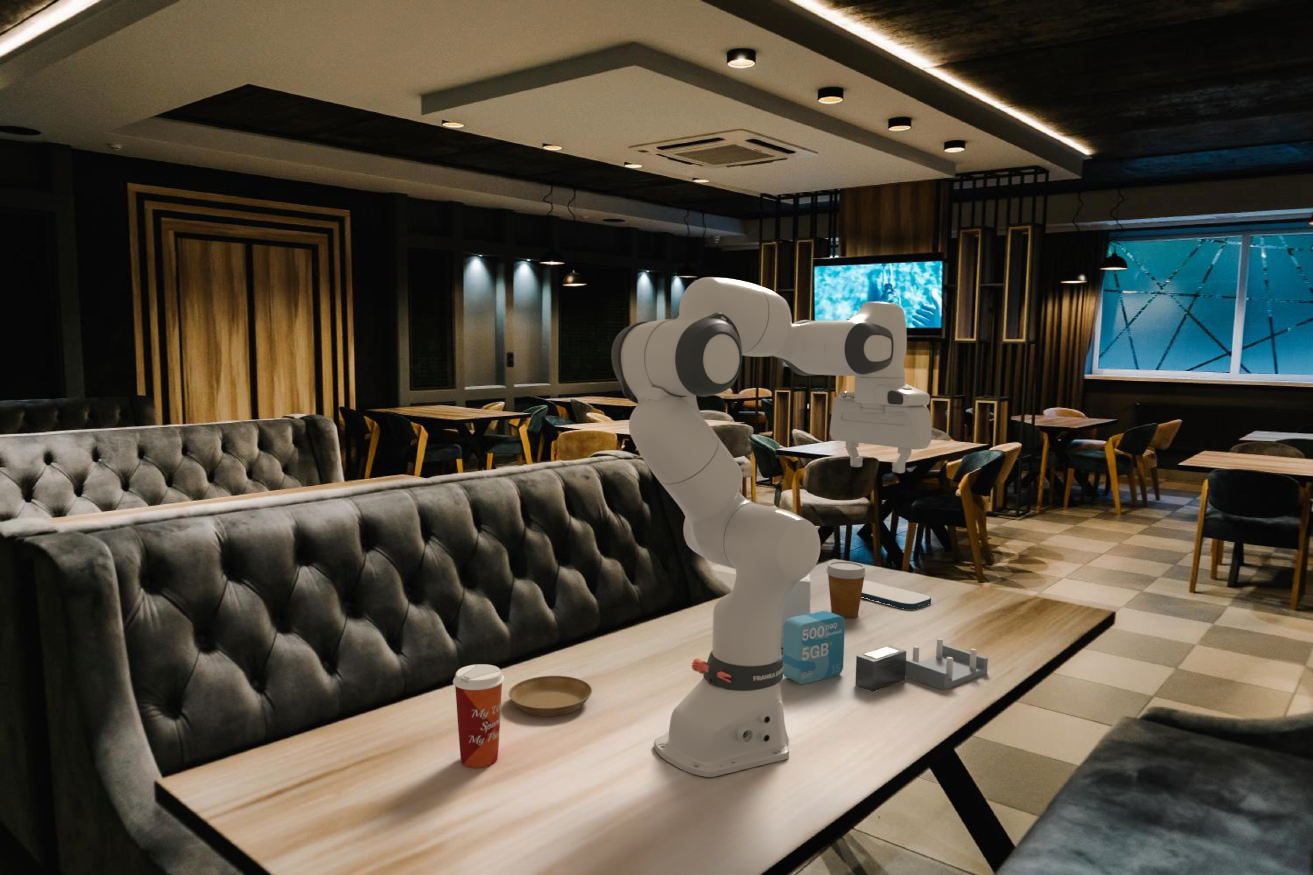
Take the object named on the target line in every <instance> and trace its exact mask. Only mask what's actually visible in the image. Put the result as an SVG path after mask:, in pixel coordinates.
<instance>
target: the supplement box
mask: <svg viewBox="0 0 1313 875" xmlns="http://www.w3.org/2000/svg"><path fill="white" fill-rule="evenodd" d="M811 589H812V588H811V572H810V573H809V574H808V575H807V576H806V577H804V578H803V579H801V580H800V581H799V582H797V583H796V585H795V586H794V587H793V589H792V590H791V592H790V594H789V596H788V598H787V601H786V604H785V607H784V612H783V620H782V633H781V649H783V641H784V624H785V622H786V620H787V619H788V618H791V617H796V616H801V615H806V614H811Z"/></svg>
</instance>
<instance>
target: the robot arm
mask: <svg viewBox="0 0 1313 875" xmlns="http://www.w3.org/2000/svg"><path fill="white" fill-rule="evenodd" d="M678 314H679V315H678V316H677V317H676V318H669V319H659V320H652V321H648V320H647V321H644V320H643V321H640V322H636V323H633V324H631V325H629V326H627V327H625V328H624V329H622V330H621V331H620V332H619V333H618V334H617V335H616V337H615V338H614V340H613V343H612V346H611V353H610V354H611V356H610V357H611V366H612V369H613V371H614V374H615V376H616V379H617V380H618V382H619V383H620V385H621V389H622V393H623V395H624V396H625V397H626V399H627V400H629V401H631V402H632V403H633V404H635V405H636V404H637V405H636V406H635V408H634V409H633V411H632V413H630V414H631V415H630V417H629V422H628V431H629V434H630V437H631V439H632V441H633V444H634V445H635V447H636V449H637V452H638V453H639V454H640V456H641V458H642V459H643V461H644V462H645V464H646V465H647V467H648V468H649V470H650V471H651V473H652V474H653V475H654V476H655V478H656V479H657V481H659V483H660V484H661V485H662V487H663V488H664V489H665V491H666V492H667V493H668V494H669V496H670V497H671V498H672V499H673V500H674V502H675V503H676V504H677V506H678V507H679V508H680V509H681V511H682V512H683V515H684V517H685V518H684V522H683V528H682V529H683V530H682V531H683V537H684V541H685V543H686V545H687V546H688V548H690V550H692V551H693V552H694V553H696V554H697V555H699V556H701V557H702V558H703V559H705V560H707V561H709V562H711V563H714V564H717V565H719V566H723V567H727V568H730V569H733V570H735V574H736V575H735V580H734V585H733V588H732V590H731V592H730V593H727V594H726V595H724V596H722V597H721V598H720V599H719V600H717V602H716V603H715V605H714V608H713V611H712V649H711V651H710V652H709V655H708V658H707V661H704V660H702V659H701V658H695V659H693V660H692V662H691V665H690V666H691V669H692V671H694V672H698V673H699V674H700V675H701V674H702V676H703V678H701V680H700V681H699V682H698V683H697V684H696V685H695V686H694V687H693V688H692V690H690V692H689V693H688V694H687V695H686V696H685V697H684V698H683V699H682V700H681V701H680V702H679V703H678V704H677V705H676V706H675V707H674V708H673V710H672V713H671V716H670V721H669V727H668V728H669V729H668V732H667V733H664V734H663V735H660V736H659V737H657V738H655V739H654V742H653V747H654V750H655V752H656V753H657V754H658V755H659V757H661V758H662V759H663V760H664V761H666V762H668V763H669V764H671V765H673V766H674V767H676V768H679V769H680V770H682V771H685V772H686V773H687V772H688V773H689V774H693V775H696V776H701V777H705V778H713V777H718V776H722V775H725V774H730V773H735V772H739V771H743V770H747V769H752V768H756V767H759V766H763V765H767V764H773V763H775V762H781V761H785V760H787V759H789V758H790V752H789V747H788V744H789V741H790V740H789V737H788V733H787V728H786V723H785V712H784V703H783V695H782V687H781V681H782V680H783V679H784V674H783V670H784V666H783V653H781V652H782V648H781V633H782V620H783V612H784V607H785V604H786V601H787V598H788V596H789V594H790V592H791V590H792V589H793V587H794V586H795V585H796V583H797V582H799V581H800V580H801V579H803V578H804V577H806V576H807V575H808V574H809V573H810V574H811V573H812V571H813V570H814V568H815V567H816V564H818V560H819V558H820V554H821V539H820V535H819V532H818V529H817V527H816V526H815V525H814V524H813V522H811V521H810V520H808V519H806V518H804V517H802V516H801V515H799V514H796V513H794V512H792V511H790V510H787V509H783V508H779V507H774V506H769V505H764V504H760V503H756V502H753V501H751V500H749V499H748V498H746V497H745V496H744V495H743V494H741V492H740V490H741V487H742V483H743V472H742V469H741V466H740V465H739V463H738V462H737V461H736V459H735V458H734V456H733V455H732V454H731V452H730V451H729V450H728V448H727V447H726V445H725V444H724V443H723V442H722V440H721V438H720V437H719V436H718V435H717V433H716V432H715V430H714V429H713V428H712V427H711V426H710V424H709V423H708V422H707V421H706V420H705V418H704V417H702V416H703V415H702V413H701V411H700V408H699V406H698V401H697V397H702V398H704V397H710V396H715V395H720V394H722V393H725V392H726V391H728V390H729V389H730V388H731V387H732V386H733V385H734V384H735V382H736V380H737V379H738V376H739V374H740V371H741V367H742V362H743V356H744V357H754V358H755V357H756V358H757V357H763V358H764V357H766V358H767V357H773V358H776V359H778V360H779V361H781V362H782V363H784V364H785V365H786V366H787V367H788V369H790V370H791V371H793V373H794V374H797V375H799V376H806V377H807V376H817V375H818V376H819V375H820V376H822V375H823V376H840V377H841V376H847V377H854V391H849V392H848V391H845V390H844V391H840V392H839V393H838V394H836V395H835V396H834V398H833V405H832V406H833V407H832V412H831V418H830V425H829V435H830V437H831V439H832V440H833V441H839V442H845V449H846V451H847V453H848V456H849V458H850V460H849V463H850V464H849V465H850V466H851V467H853V468H860V467H862V466H863V460H864V458H863V456H860V455H859V450H858V449H857V448H859V444H865V445H873V446H881V447H882V446H883V447H893V448H897V454H898V455H899V456H898V458H897V460H896V461H893V462H892V464H891V466H892V468H891V470H892V471H891V472H892V473H896V474H903V473H905V472H906V463H907V462H908V460H909V458H910V457H911V455H912V450H925V449H927V448H928V447H929V445H930V444H931V442H932V415H931V412H930V409H929V408H928V407H927V405H928V406H929V404H930V401H931V399H930V398H931V396H930V394H929V393H928V392H926V391H924V390H921V389H918V388H916V387H914V386H913V385H910V384H908V383H906V372H905V364H904V363H905V360H906V359H905V358H906V356H907V349H908V348H907V347H908V344H907V342H908V340H907V339H908V336H907V335H908V334H907V333H908V332H907V323H906V322H907V321H906V316H905V312H904V309H903V308H902V307H901V306H900V305H898V304H895V303H892V302H888V301H887V302H883V301H868V302H867V301H866V302H864V303H862V304H861V306H860V310H859V311H858V312H857V313H856V314H854V315H853V316H851V317H848V318H846V320H842V319H841V320H813V319H812V320H811V319H803V320H798V321H795V322H793V321H792V320H793V319H792V318H793V317H792V313H791V309H790V306H789V304H788V302H787V300H786V299H785V298H784V297H783V296H781V295H779V294H778V293H776V292H775V291H773V290H772V289H769V288H766V287H764V286H761V285H759V284H756V283H752V282H748V281H743V280H739V279H734V278H727V277H715V276H714V277H713V276H711V277H710V276H708V277H707V276H706V277H700V278H699V279H697V280H695V281H693V282H691V283H690V284H689V285H688V287H687V288H686V289H685V290H684V292H683V293H682V296H681V299H680V303H679V308H678ZM629 395H630V396H629Z"/></svg>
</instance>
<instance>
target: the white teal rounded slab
mask: <svg viewBox="0 0 1313 875" xmlns="http://www.w3.org/2000/svg"><path fill="white" fill-rule="evenodd" d="M861 597H864V598H868V599H870V600H874V601H879V602H881V603H885V604H890V605H892V606H895V607H894V608H896V607H898V608H897V609H900V608H904V609H903V610H905V609H915V610H918V609H917V608H919V609H921V607H922V608H925V607H927V606H926V605H928V604H930V605H931V603H932V597H931V596H930V595H927V594H925V593H924V594H923V593H921V592H920V593H919V592H917V591H912V590H908V589H903V588H899V587H896V586H892V585H887V584H883V583H879V582H875V581H871V580H866V579H864V582H863V588H862V594H861ZM881 603H880V604H881ZM892 606H891V607H892ZM924 606H925V607H924ZM928 606H929V605H928Z"/></svg>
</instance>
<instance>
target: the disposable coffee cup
mask: <svg viewBox="0 0 1313 875" xmlns="http://www.w3.org/2000/svg"><path fill="white" fill-rule="evenodd" d="M825 571H826V573H827V579H828V589H829V600H830V612H831V613H833V614H836V615H839V616H841V617H850V618H849V619H852V618H851V617H853V618H856V616H857V615H858V616H859V611H860V607H861V606H860V605H861V600H862V598H861V594H862V588H863V582H864V580H865V577H866V575H867V570H866V566H865V565H863V564H862V563H858V562H854V561H846V560H844V561H843V560H841V561H840V560H839V561H838V560H837V561H831V562H828V565H827V568H825ZM858 616H857V617H858Z"/></svg>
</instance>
